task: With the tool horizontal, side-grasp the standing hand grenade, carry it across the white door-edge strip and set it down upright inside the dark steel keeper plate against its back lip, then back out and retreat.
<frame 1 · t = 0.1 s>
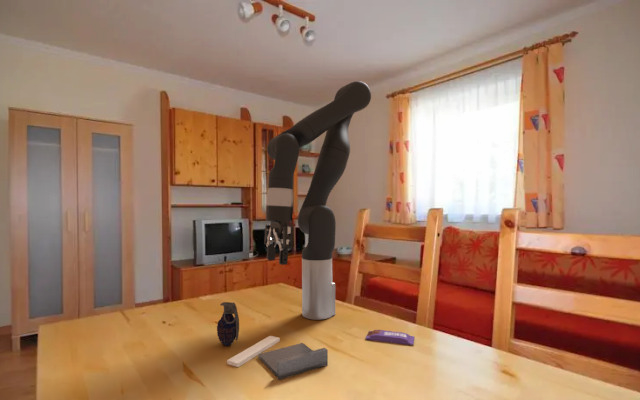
hand: (276, 262, 95), 17 cm above the table, tool pointing down, fingers open, 8 cm apart
door edge strip: (255, 351, 77), on the table
hand grenade: (229, 345, 80), on the table
snack package: (390, 342, 83), on the table
keeper plate: (292, 361, 72), on the table
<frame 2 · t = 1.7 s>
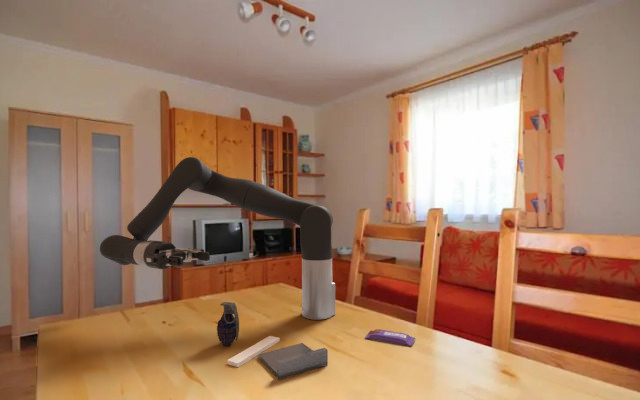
hand: (196, 259, 86), 20 cm above the table, tool horizontal, fingers open, 8 cm apart
nothing on the table moved.
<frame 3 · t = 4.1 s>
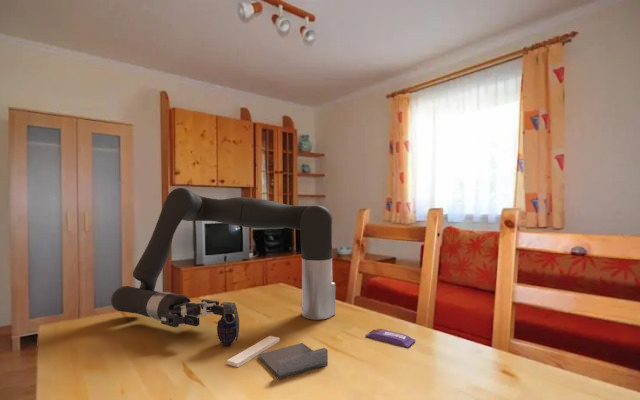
hand: (212, 316, 83), 6 cm above the table, tool horizontal, fingers open, 8 cm apart
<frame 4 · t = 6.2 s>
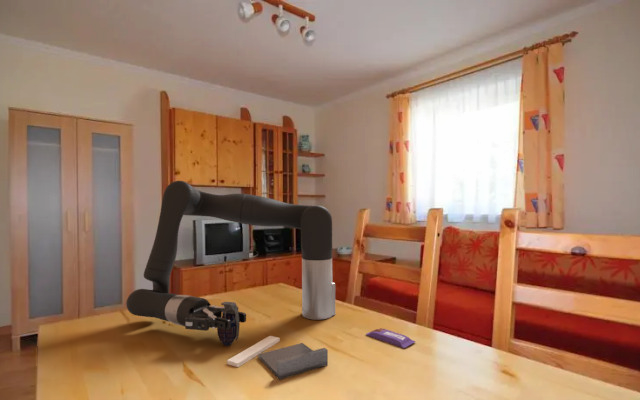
hand: (237, 321, 79), 6 cm above the table, tool horizontal, fingers closed on hand grenade, 4 cm apart
hand grenade: (229, 345, 80), on the table, touching gripper
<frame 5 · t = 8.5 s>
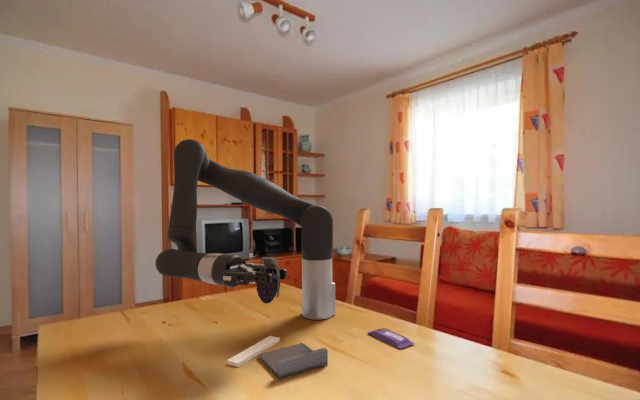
hand: (278, 276, 74), 18 cm above the table, tool horizontal, fingers closed on hand grenade, 4 cm apart
hand grenade: (268, 303, 75), point 12 cm above the table, touching gripper
when the fingers open (8 cm above the table, at t = 11.2 s): hand grenade stays where it is, resting on keeper plate.
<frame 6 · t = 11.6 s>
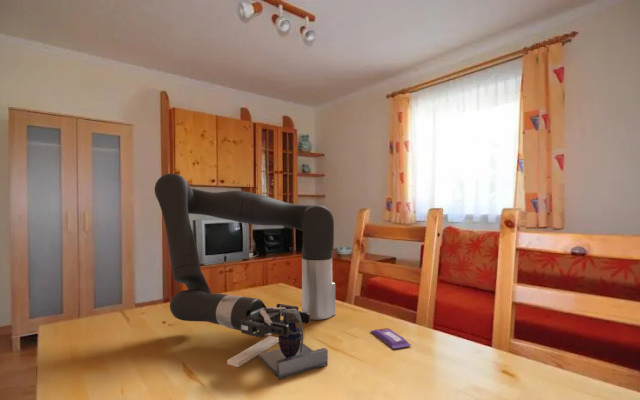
hand: (299, 324, 71), 8 cm above the table, tool horizontal, fingers open, 8 cm apart
hand grenade: (291, 358, 72), point 1 cm above the table, touching keeper plate
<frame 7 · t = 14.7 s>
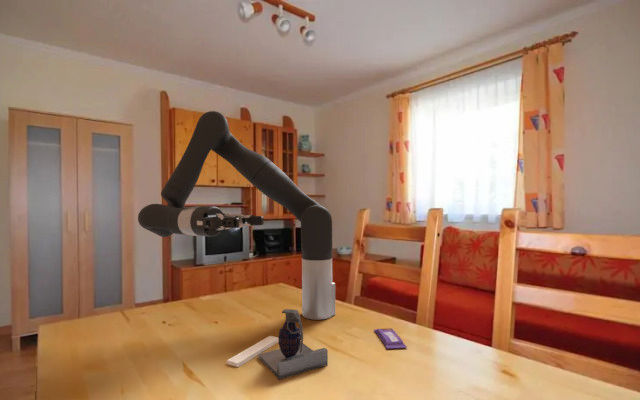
hand: (251, 221, 77), 30 cm above the table, tool horizontal, fingers open, 8 cm apart
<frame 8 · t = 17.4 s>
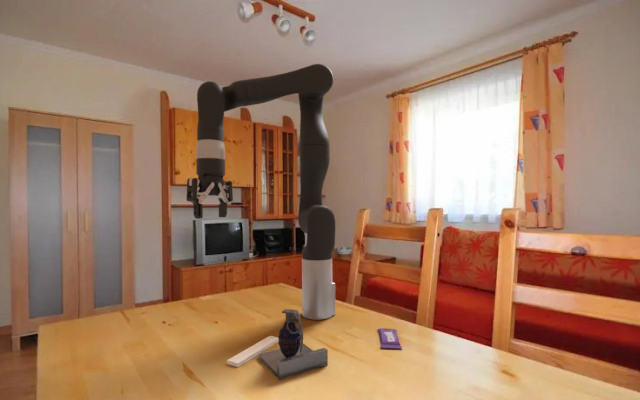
hand: (211, 217, 91), 30 cm above the table, tool pointing down, fingers open, 8 cm apart
at the end: hand grenade inside the target area on the keeper plate (0.1 cm from its centre), point 0.6 cm above the keeper plate's base; hand grenade tilted 0°; the gripper is holding nothing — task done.
